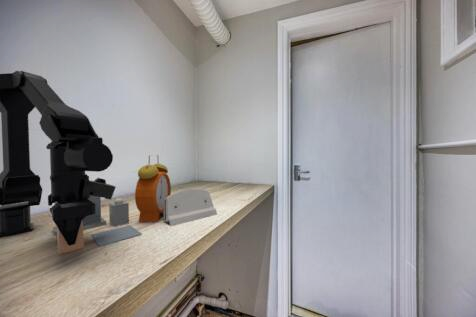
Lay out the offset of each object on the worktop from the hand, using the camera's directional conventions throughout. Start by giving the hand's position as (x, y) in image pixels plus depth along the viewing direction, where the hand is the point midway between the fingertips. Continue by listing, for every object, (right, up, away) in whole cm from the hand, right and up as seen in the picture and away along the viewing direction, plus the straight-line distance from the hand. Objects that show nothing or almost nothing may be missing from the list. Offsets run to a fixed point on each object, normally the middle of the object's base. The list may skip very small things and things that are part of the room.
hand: (70, 241), depth 44 cm
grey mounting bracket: (+21, -1, +21) cm, 30 cm away
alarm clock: (+10, -1, +21) cm, 23 cm away
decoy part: (+2, -1, +15) cm, 15 cm away
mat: (+6, -1, +7) cm, 9 cm away
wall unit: (-7, -1, +12) cm, 14 cm away
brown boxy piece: (0, -1, 0) cm, 1 cm away
